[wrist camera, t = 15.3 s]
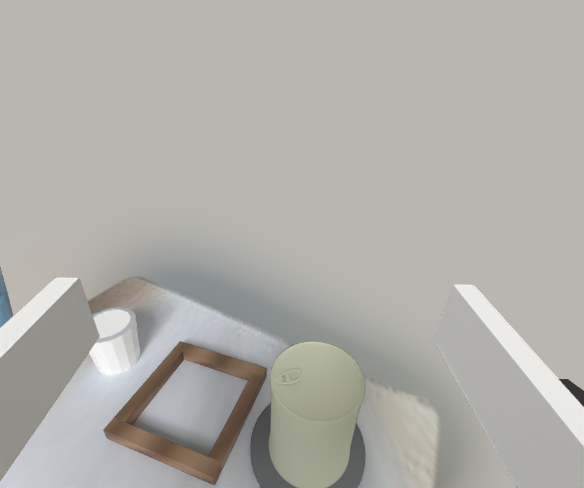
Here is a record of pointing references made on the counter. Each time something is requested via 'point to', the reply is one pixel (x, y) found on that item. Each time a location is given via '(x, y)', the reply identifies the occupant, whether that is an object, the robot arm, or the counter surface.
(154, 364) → the counter surface
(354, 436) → the mat
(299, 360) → the can
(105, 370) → the shot glass
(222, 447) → the pocket
